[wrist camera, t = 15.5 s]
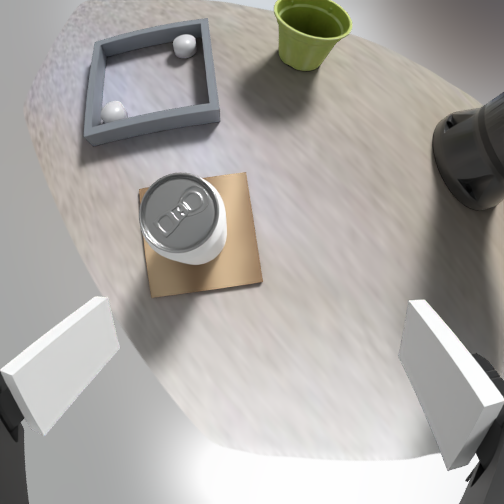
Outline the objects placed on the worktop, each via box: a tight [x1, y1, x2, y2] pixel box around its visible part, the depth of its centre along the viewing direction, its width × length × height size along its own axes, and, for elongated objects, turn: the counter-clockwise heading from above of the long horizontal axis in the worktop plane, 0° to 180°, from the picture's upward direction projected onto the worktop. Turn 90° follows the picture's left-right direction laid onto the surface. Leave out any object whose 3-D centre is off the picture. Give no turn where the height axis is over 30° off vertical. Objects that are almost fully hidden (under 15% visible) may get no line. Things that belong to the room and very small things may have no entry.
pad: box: [139, 172, 263, 298], centre depth 33 cm, size 12×12×1 cm
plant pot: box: [274, 0, 352, 71], centre depth 31 cm, size 9×9×9 cm
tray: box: [84, 18, 220, 146], centre depth 32 cm, size 16×16×3 cm
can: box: [139, 173, 227, 265], centre depth 26 cm, size 6×6×12 cm
